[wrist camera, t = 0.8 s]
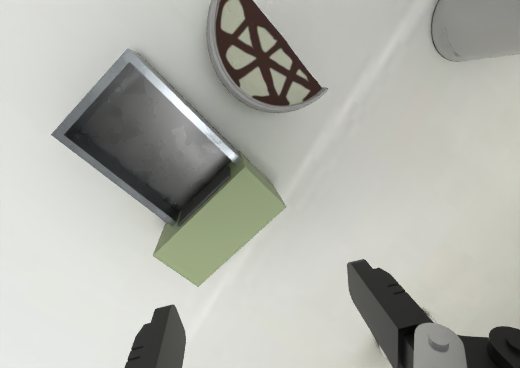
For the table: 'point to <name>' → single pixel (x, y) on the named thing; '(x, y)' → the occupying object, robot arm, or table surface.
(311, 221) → the table surface
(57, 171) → the table surface
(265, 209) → the pale green rectangular block
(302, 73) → the food container
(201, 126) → the gray open tray
